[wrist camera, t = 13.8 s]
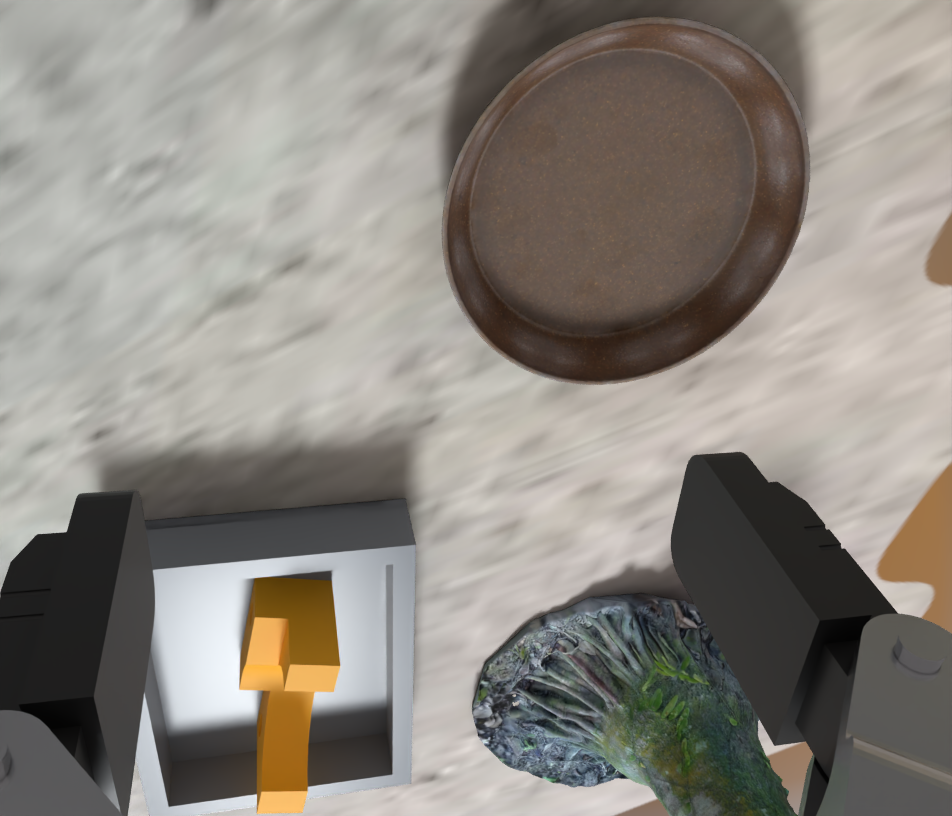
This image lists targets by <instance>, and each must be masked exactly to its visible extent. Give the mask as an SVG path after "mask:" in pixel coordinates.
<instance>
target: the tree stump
mask: <svg viewBox="0 0 952 816" xmlns="http://www.w3.org/2000/svg"><path fill="white" fill-rule="evenodd" d="M513 694H516V697H513V696H512V695H513ZM517 701H519V705H518V706H515V707H514V706H513V704H512V702H514V703H515V702H517ZM472 714H473V718H474V722H475V726H476V728H477V732H478V737H479V738H480V740H481V741H482V742H483V743H484V745H485V746H486V747H487V748H488V749H489V750H490V751H491V752H492V753H493V754H494V755H495V756H496V757H497V758H498V759H499V760H500V761H501V762H502V763H504V764H505V765H507V766H508V767H510V768H513V769H516V770H520V771H527V772H529V773H531V774H532V775H535V776H537V777H540V778H544V779H546V780H548V781H550V782H552V783H561V784H565V785H568V786H570V787H577V786H584V787H591V786H595V785H598V784H601V783H604V782H608V781H611V780H614V779H615V778H621V779H631V780H632V781H634V782H636V783H639V784H642V785H647V786H649V787H650V788H651V789H652V790H653V792H654V793H655V795H656V797H657V798H658V799H659V801H660V802H661V803H662V804H663V806H664V807H665V809H666V810H667V812H668V814H669V815H670V816H798V815H797V814H795V812H794V810H793V808H792V807H791V806H790V804H789V803H788V800H787V796H788V793H789V791H788V790H787V789H786V788H784V787H783V786H782V784H781V782H782V779H781V778H780V777H779V776H778V775H777V774H776V773H775V772H774V771H773V770H772V768H771V765H770V760H769V759H768V758H767V757H766V755H765V753H764V750H763V748H762V746H761V743H760V741H759V738H758V721H759V720H760V719H759V718H758V716H757V714H756V712H755V710H754V709H753V707H752V705H751V703H750V702H749V700H748V698H747V696H746V695H745V693H744V691H743V689H742V687H741V686H740V684H739V682H738V680H737V679H736V677H735V675H734V673H733V671H732V670H731V668H730V666H729V664H728V663H727V661H726V659H725V657H724V656H723V654H722V652H721V650H720V648H719V647H718V645H717V643H716V641H715V640H714V638H713V636H712V634H711V632H710V631H709V629H708V627H707V625H706V624H705V622H704V620H703V618H702V617H701V615H700V613H699V611H698V609H697V608H696V606H695V605H693V604H688V603H687V602H686V601H685V600H683V601H680V600H671V599H667V598H662V597H658V596H653V595H649V594H644V593H636V594H625V595H614V596H601V597H589V598H586V599H584V600H582V601H581V602H579V603H577V604H575V605H572V606H570V607H568V608H566V609H564V610H561V611H557V612H552V613H549V614H546V615H544V616H542V617H540V618H537V619H534V620H532V621H531V622H530V623H529V624H528V625H526V626H525V627H524V628H523V629H522V630H521V631H520V632H519V633H518V634H517V635H516V636H514V637H513V638H512V639H511V640H510V641H509V642H508V643H507V644H506V645H505V646H504V647H503V648H501V649H500V650H499V651H498V652H497V653H496V654H495V655H494V656H493V657H492V658H491V659H490V660H488V661H487V662H486V663H485V665H484V669H483V672H482V676H481V679H480V683H479V686H478V690H477V693H476V696H475V700H474V703H473V707H472Z"/></svg>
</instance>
